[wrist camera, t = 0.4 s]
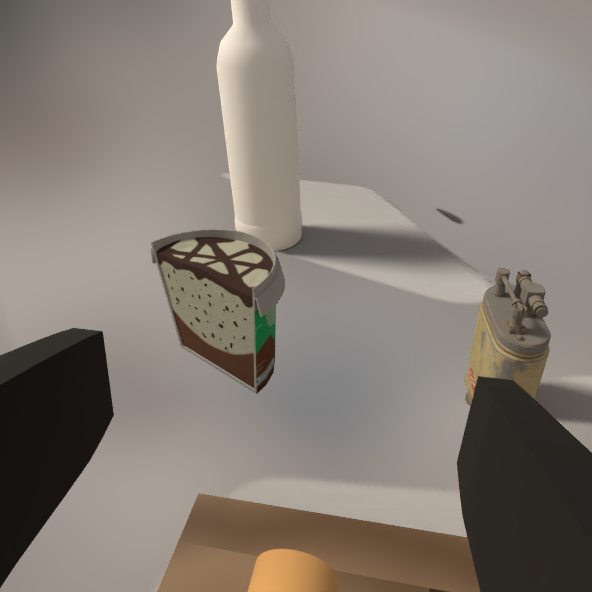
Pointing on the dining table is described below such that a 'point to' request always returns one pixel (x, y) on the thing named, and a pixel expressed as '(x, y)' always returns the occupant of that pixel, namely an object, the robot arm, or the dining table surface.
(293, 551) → the roller
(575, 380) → the dining table surface
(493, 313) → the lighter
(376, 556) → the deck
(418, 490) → the dining table surface
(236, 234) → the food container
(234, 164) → the bottle
